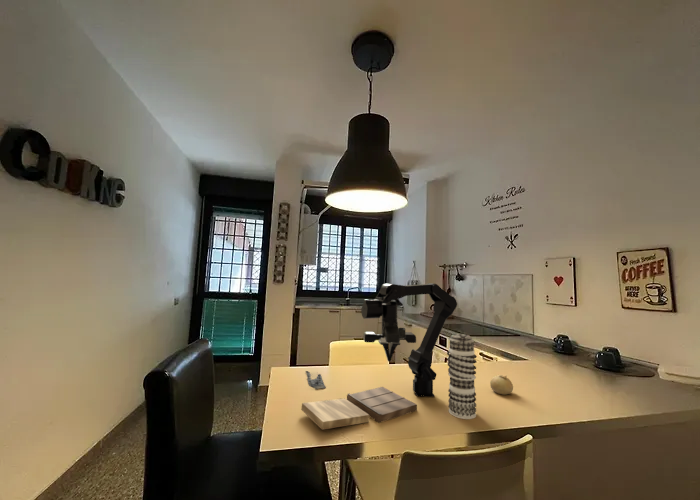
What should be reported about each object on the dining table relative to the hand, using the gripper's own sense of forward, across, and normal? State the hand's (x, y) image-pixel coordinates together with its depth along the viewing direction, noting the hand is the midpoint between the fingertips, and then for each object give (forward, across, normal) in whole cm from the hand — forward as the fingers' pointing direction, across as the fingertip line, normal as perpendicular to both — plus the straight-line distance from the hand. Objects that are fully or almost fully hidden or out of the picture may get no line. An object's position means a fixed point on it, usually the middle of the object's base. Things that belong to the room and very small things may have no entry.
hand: (389, 361), depth 109 cm
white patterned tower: (+13, +22, -12) cm, 28 cm away
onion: (+13, +45, +5) cm, 47 cm away
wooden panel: (+13, -4, -6) cm, 15 cm away
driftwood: (+14, -27, +18) cm, 36 cm away
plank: (+13, -13, -12) cm, 22 cm away
